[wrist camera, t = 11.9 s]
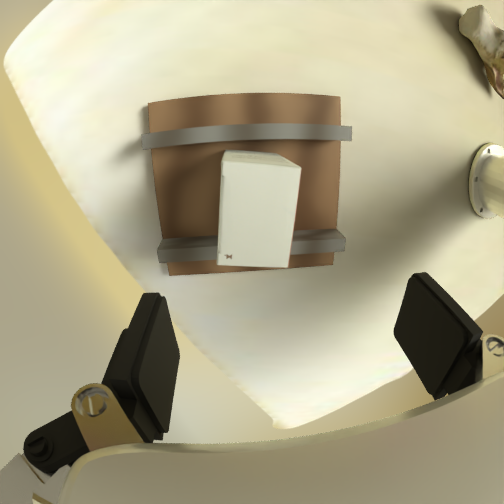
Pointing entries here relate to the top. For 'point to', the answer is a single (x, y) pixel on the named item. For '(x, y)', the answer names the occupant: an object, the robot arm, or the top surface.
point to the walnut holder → (247, 139)
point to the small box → (257, 209)
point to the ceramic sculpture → (486, 43)
